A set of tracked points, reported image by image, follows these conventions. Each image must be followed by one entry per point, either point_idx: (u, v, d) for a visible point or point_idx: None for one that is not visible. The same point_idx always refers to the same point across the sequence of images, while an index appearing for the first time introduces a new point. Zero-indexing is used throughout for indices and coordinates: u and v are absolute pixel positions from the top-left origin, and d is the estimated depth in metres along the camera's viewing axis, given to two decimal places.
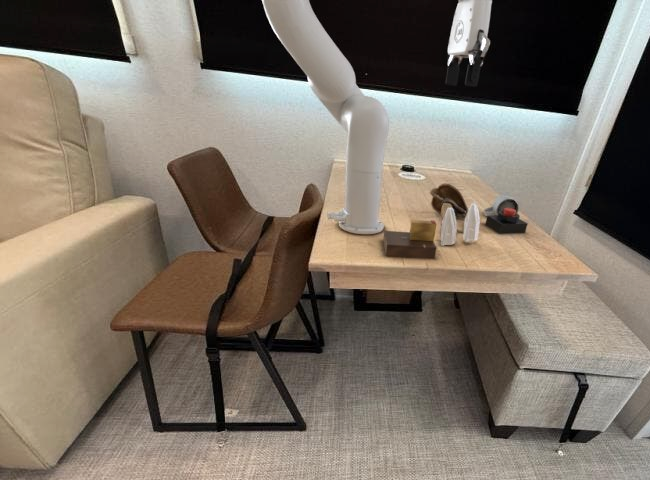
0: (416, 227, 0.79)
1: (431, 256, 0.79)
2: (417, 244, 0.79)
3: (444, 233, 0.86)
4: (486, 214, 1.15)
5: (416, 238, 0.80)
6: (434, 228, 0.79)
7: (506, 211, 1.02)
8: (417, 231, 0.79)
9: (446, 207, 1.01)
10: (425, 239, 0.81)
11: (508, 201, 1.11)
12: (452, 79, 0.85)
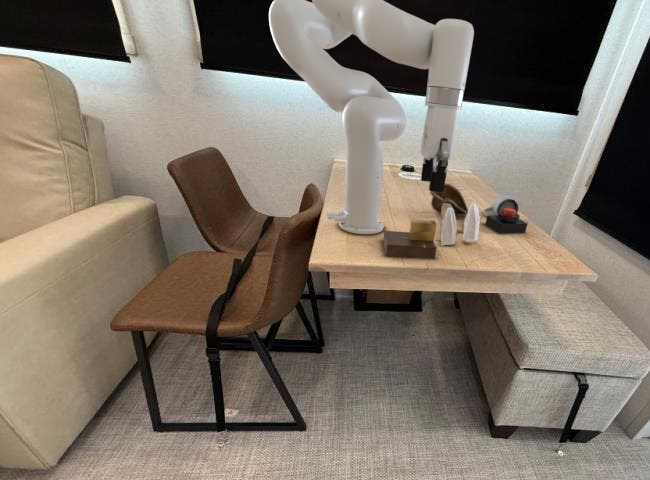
0: (416, 227, 0.79)
1: (431, 256, 0.79)
2: (417, 244, 0.79)
3: (444, 233, 0.86)
4: (486, 214, 1.15)
5: (416, 238, 0.80)
6: (434, 228, 0.79)
7: (506, 211, 1.02)
8: (417, 231, 0.79)
9: (446, 207, 1.01)
10: (425, 239, 0.81)
11: (508, 201, 1.11)
12: (428, 176, 0.79)
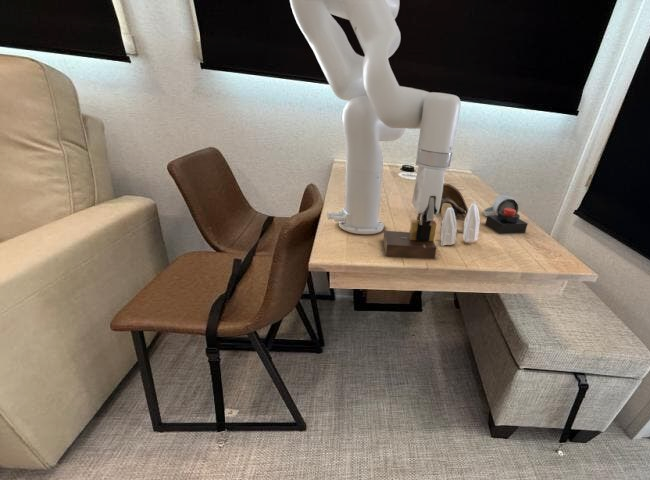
0: (416, 227, 0.79)
1: (431, 256, 0.79)
2: (417, 244, 0.79)
3: (444, 233, 0.86)
4: (486, 214, 1.15)
5: None
6: (434, 228, 0.79)
7: (506, 211, 1.02)
8: None
9: (446, 207, 1.01)
10: None
11: (508, 201, 1.11)
12: None
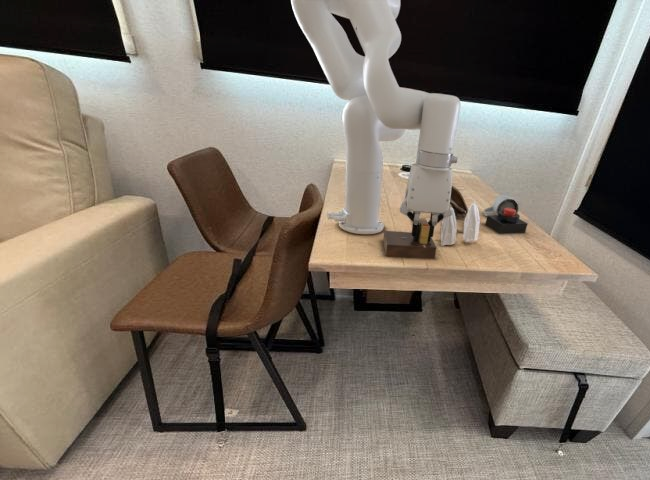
0: None
1: (431, 256, 0.79)
2: (417, 244, 0.79)
3: (444, 233, 0.86)
4: (486, 214, 1.15)
5: None
6: (421, 230, 0.77)
7: (506, 211, 1.02)
8: None
9: None
10: (418, 238, 0.81)
11: (508, 201, 1.11)
12: None
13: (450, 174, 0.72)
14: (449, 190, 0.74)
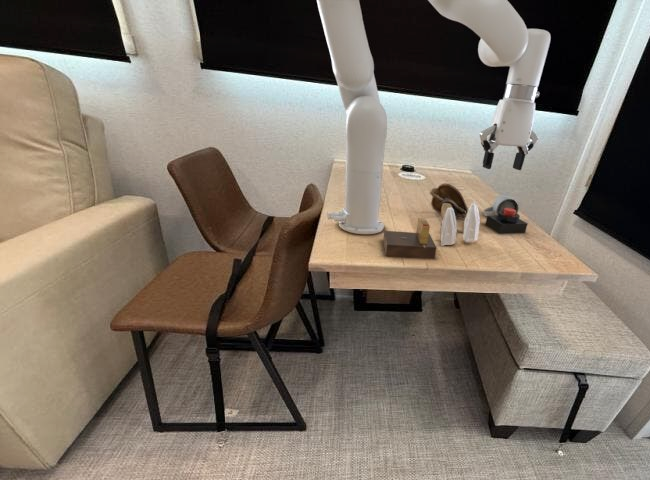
0: (418, 223, 0.81)
1: (431, 256, 0.79)
2: (417, 244, 0.79)
3: (444, 233, 0.86)
4: (486, 214, 1.15)
5: (417, 235, 0.82)
6: (421, 230, 0.77)
7: (506, 211, 1.02)
8: (418, 228, 0.81)
9: (446, 207, 1.01)
10: (418, 238, 0.81)
11: (508, 201, 1.11)
12: (516, 164, 0.90)
13: (534, 107, 0.81)
14: (532, 123, 0.83)
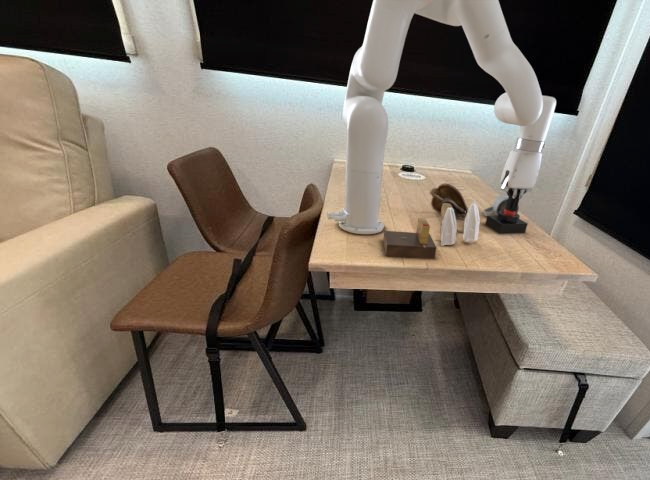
0: (418, 223, 0.81)
1: (431, 256, 0.79)
2: (417, 244, 0.79)
3: (444, 233, 0.86)
4: (486, 214, 1.15)
5: (417, 235, 0.82)
6: (421, 230, 0.77)
7: (506, 212, 1.02)
8: (418, 228, 0.81)
9: (446, 207, 1.01)
10: (418, 238, 0.81)
11: None
12: None
13: (541, 157, 0.94)
14: (538, 169, 0.96)
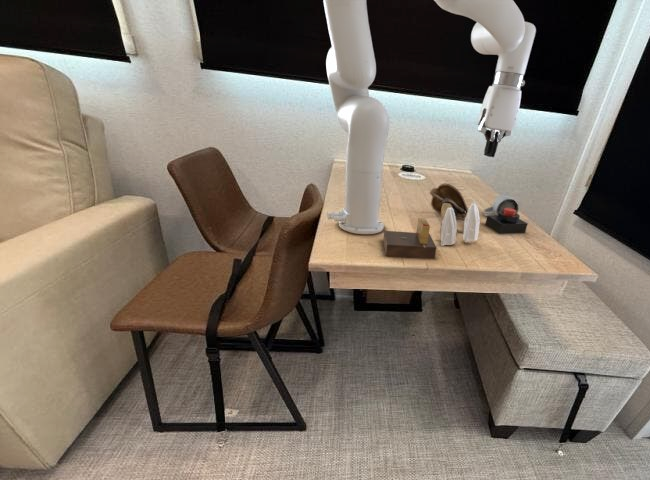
0: (418, 223, 0.81)
1: (431, 256, 0.79)
2: (417, 244, 0.79)
3: (444, 233, 0.86)
4: (486, 214, 1.15)
5: (417, 235, 0.82)
6: (421, 230, 0.77)
7: (506, 211, 1.02)
8: (418, 228, 0.81)
9: (446, 207, 1.01)
10: (418, 238, 0.81)
11: (508, 201, 1.11)
12: None
13: (520, 94, 0.88)
14: (518, 109, 0.90)
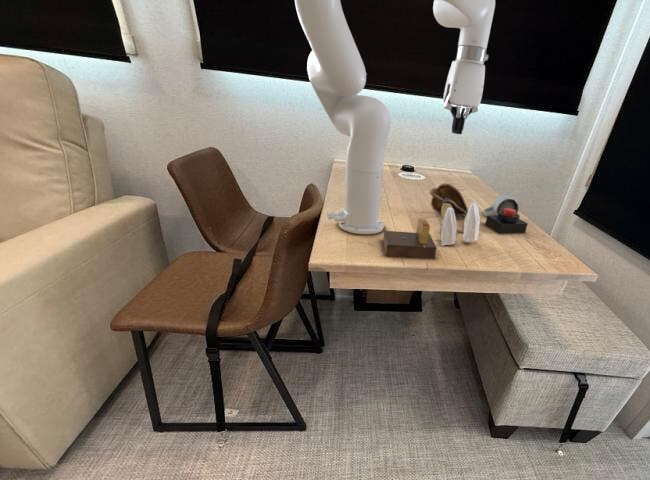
0: (418, 223, 0.81)
1: (431, 256, 0.79)
2: (417, 244, 0.79)
3: (444, 233, 0.86)
4: (486, 214, 1.15)
5: (417, 235, 0.82)
6: (421, 230, 0.77)
7: (506, 211, 1.02)
8: (418, 228, 0.81)
9: (446, 207, 1.01)
10: (418, 238, 0.81)
11: (508, 201, 1.11)
12: None
13: (484, 69, 0.88)
14: (482, 84, 0.90)
